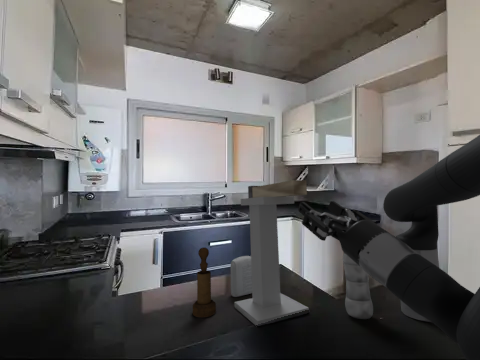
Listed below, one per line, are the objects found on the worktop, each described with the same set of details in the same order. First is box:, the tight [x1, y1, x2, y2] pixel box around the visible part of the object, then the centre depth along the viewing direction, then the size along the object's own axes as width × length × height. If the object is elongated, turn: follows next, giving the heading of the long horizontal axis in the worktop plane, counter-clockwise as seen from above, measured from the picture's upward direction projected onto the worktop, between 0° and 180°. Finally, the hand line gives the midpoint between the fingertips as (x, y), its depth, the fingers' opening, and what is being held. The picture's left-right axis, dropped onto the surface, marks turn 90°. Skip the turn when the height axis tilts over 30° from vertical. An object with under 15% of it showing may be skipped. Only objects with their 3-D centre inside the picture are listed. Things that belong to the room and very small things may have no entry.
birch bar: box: [247, 179, 308, 198], centre depth 70 cm, size 4×23×4 cm, turn 25°
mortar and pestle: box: [192, 247, 217, 318], centre depth 71 cm, size 7×6×18 cm
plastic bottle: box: [341, 252, 374, 320], centre depth 65 cm, size 6×7×20 cm
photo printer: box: [230, 255, 252, 298], centre depth 85 cm, size 10×4×12 cm, turn 124°
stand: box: [234, 196, 310, 326], centre depth 72 cm, size 16×14×32 cm
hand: (315, 205), depth 55 cm, fingers open, 8 cm apart
